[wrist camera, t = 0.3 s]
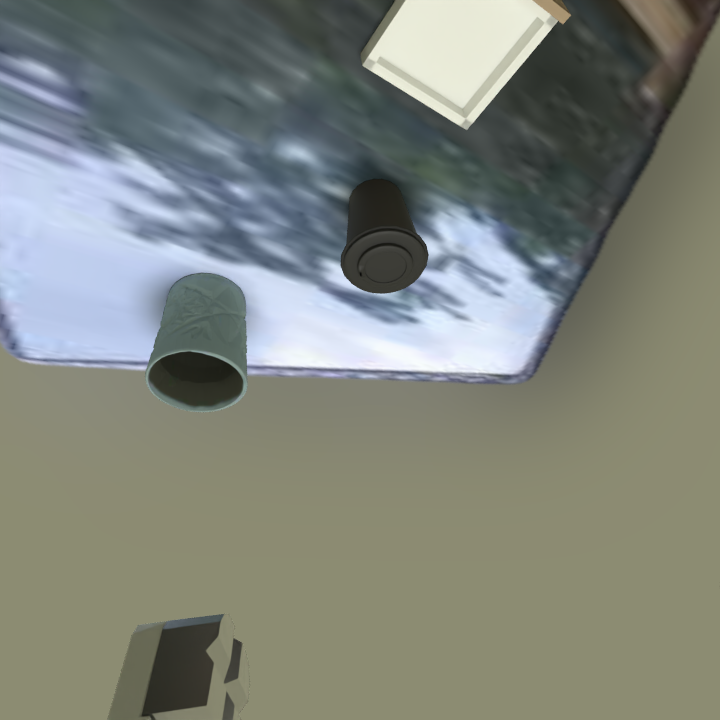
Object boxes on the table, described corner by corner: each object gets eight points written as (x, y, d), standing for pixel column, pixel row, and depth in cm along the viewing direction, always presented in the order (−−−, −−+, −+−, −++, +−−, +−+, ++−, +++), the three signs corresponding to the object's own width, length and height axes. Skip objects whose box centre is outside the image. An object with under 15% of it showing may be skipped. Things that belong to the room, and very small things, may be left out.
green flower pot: (255, 328, 80) (253, 409, 72) (170, 333, 79) (158, 416, 72) (243, 264, 72) (239, 348, 64) (148, 269, 72) (132, 355, 64)
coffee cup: (318, 201, 67) (322, 269, 60) (380, 151, 63) (392, 218, 56) (371, 245, 71) (380, 313, 65) (432, 201, 68) (448, 268, 61)
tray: (445, -77, 49) (450, -67, 47) (552, 8, 54) (559, 19, 53) (360, 53, 56) (362, 65, 54) (462, 118, 61) (466, 130, 60)
